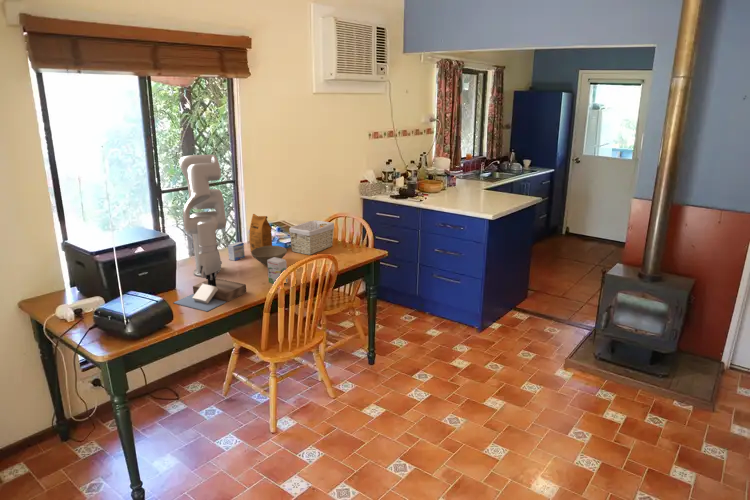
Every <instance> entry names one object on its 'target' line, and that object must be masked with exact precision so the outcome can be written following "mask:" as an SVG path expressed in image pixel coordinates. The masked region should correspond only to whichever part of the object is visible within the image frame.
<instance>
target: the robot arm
mask: <svg viewBox="0 0 750 500" xmlns="http://www.w3.org/2000/svg"><path fill="white" fill-rule="evenodd" d="M179 168H180V171H181V173H182V174H183V176H184V178H185V180H186V183H187V190H188V199H187V201H186V203H185V204H184V207H183V209H182V217H183V226H184V229H185V232H186V233H187V234H189V235H192V243H193V244H192V245H193V251H194V261H195V269H194V270H193V271H192V273H193V275H194V276H197V277H200V278H202V279H206V280H208V285H211V286H215V287H216V279H215V278H218V277H217V275H218V274H219V273H220V272H221V269H222V264H223V262H222V259H221V255H220V251H219V249H218V241H217V233H216V231H218V230H219V231H220V230H223V229H225V227H226V226H227V225H226V224H227V219H226V211H225V209H226V208H225V203H224V196H223V192H222V191H221V190H220V189H216V188H212V189H211V188H210V184H209V182H213V181H214V182H215V181H219V180H220V179H221V177H222V171H221V166H220V162H219V159H218V158H217V156H216V155H214V154H210V153H209V154H191V155H184V156H181V157H180V159H179ZM192 209H194V210H208V209H209V210H210V209H214V210H211V211H209V210H208V211H199V212H198V211H197V212H194V213H190V212H191V210H192Z"/></svg>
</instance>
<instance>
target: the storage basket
mask: <svg viewBox="0 0 750 500" xmlns="http://www.w3.org/2000/svg"><path fill="white" fill-rule="evenodd" d="M288 229H289V236H290V237H289V238H290V244H291V246H290V247H291V251H292V252H293V253H298V254H303V255H309V256H311V255H314V254H316V253H318V252H321V251H324V250H326V249H328V248H330V247H333V240H334V229H335V223H334V222H329V221H324V220H316V219H314V220H310V221H306V222H303V223H299V224H297V225H294V226H291V227H289V228H288Z"/></svg>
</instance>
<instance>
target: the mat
mask: <svg viewBox="0 0 750 500" xmlns="http://www.w3.org/2000/svg"><path fill="white" fill-rule="evenodd" d="M194 295H195V294H194V293H192V294H190V295H187V296H185V297H183V298H180V299H179V300H176V301H174V302H173V304H175V305H178V306H182V307H187V308H191V309H194V310H199V311H201V312H202V311H203V312H206V313H208V312H210V311H212V310H213V309H216V308H218V307H220V306H222V305H224V304H225V303H227V302H226V301H221V300H217V299H213V298H211V300H210V301H209V303H208V304H207V303H203V302H199V301H195V300H194V299H193V298H192V297H193V296H194Z"/></svg>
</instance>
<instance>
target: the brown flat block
mask: <svg viewBox="0 0 750 500" xmlns="http://www.w3.org/2000/svg"><path fill="white" fill-rule="evenodd" d="M215 279H216V287H217V289H218V290H217V292H216V293H215V294H214V296H213V297H212V298H213V299H217V300H221V301H226V303H228V302H230V301H232V300H234V299H237V298H238V297H240V296H243V295H244V294H247V284H245V283H242V282H235V281H231V280H227V279H222V278H218V277H216V278H215ZM202 284H206V285H208V279H206V280H204V281H202V282H200V283H198V284H197V283H196V284H195V285H193V286H192V292H193V293H192V294H195V293H196V292H197V291H198V289H199V288H200V287H201V285H202Z"/></svg>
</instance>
